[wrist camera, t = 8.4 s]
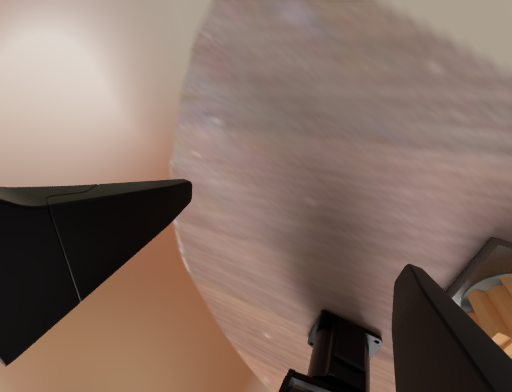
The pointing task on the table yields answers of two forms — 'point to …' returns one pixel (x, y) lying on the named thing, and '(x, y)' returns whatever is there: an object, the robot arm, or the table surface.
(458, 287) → the carrier
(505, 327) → the gear
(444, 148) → the table surface
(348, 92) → the table surface
